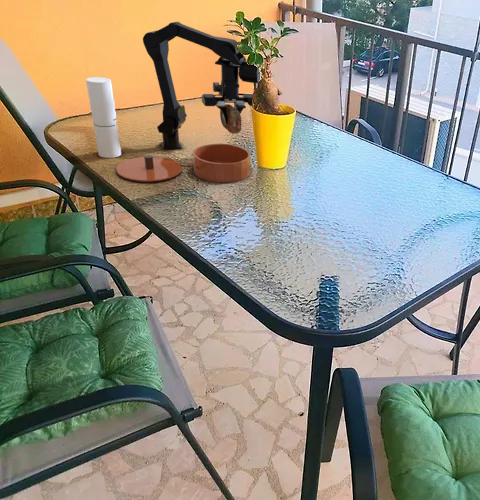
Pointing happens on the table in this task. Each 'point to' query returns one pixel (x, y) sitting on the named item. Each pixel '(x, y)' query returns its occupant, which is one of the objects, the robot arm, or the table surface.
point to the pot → (221, 162)
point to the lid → (149, 168)
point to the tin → (232, 119)
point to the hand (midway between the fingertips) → (230, 124)
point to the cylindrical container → (104, 116)
